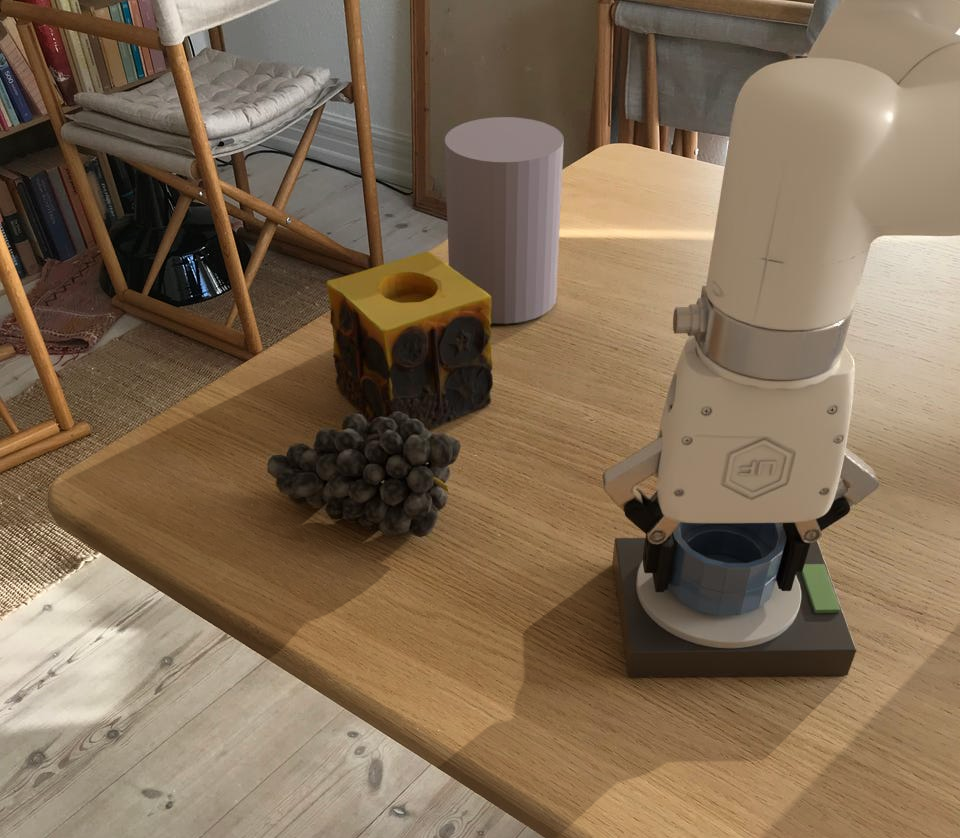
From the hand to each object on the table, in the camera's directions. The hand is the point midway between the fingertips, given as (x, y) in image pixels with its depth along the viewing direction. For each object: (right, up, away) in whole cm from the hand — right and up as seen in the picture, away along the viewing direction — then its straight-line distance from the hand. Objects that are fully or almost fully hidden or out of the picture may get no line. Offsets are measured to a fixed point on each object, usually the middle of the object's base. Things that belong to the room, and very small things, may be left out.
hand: (719, 575), depth 67 cm
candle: (-21, +16, +22) cm, 35 cm away
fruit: (-24, +6, +11) cm, 27 cm away
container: (-13, +29, +34) cm, 46 cm away
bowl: (0, 0, +1) cm, 1 cm away
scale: (+1, -3, +3) cm, 4 cm away
